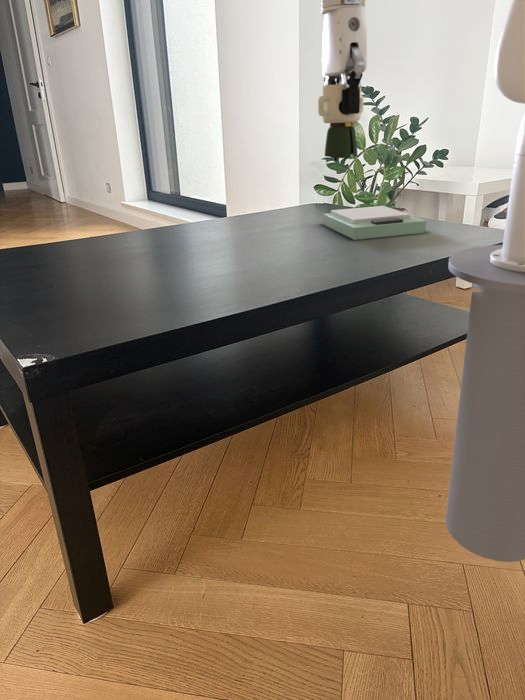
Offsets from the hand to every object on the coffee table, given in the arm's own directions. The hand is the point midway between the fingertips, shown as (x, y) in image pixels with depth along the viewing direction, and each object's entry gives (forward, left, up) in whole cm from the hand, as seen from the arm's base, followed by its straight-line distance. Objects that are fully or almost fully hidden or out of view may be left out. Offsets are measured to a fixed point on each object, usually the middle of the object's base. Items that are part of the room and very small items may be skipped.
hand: (341, 113), depth 102 cm
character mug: (0, 0, -8) cm, 8 cm away
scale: (+8, -11, -24) cm, 27 cm away
